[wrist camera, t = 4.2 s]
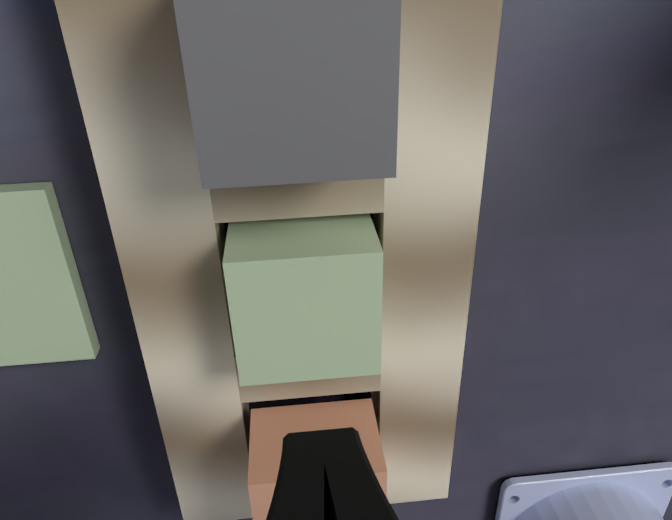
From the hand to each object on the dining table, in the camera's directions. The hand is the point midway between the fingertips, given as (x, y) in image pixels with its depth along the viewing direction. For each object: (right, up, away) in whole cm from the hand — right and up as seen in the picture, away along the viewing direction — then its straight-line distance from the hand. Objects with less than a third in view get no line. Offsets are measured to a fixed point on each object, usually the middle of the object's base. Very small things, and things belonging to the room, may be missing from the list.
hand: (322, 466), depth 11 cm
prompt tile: (-10, +4, +7) cm, 12 cm away
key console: (-1, +4, +7) cm, 8 cm away
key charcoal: (-1, +9, +2) cm, 9 cm away
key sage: (-1, +4, +7) cm, 8 cm away
